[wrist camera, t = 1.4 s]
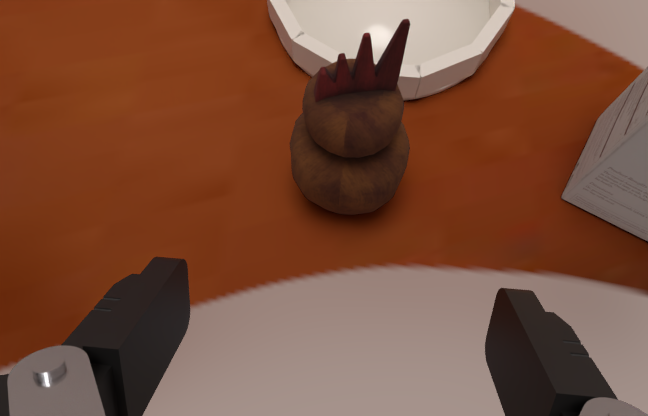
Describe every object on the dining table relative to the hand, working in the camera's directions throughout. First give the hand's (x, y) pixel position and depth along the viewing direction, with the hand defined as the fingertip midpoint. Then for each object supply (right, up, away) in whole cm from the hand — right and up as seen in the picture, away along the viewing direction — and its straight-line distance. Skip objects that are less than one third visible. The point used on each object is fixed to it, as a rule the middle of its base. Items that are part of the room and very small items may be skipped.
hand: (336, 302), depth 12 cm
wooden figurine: (+1, +4, +20) cm, 21 cm away
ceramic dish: (+5, +19, +26) cm, 32 cm away
